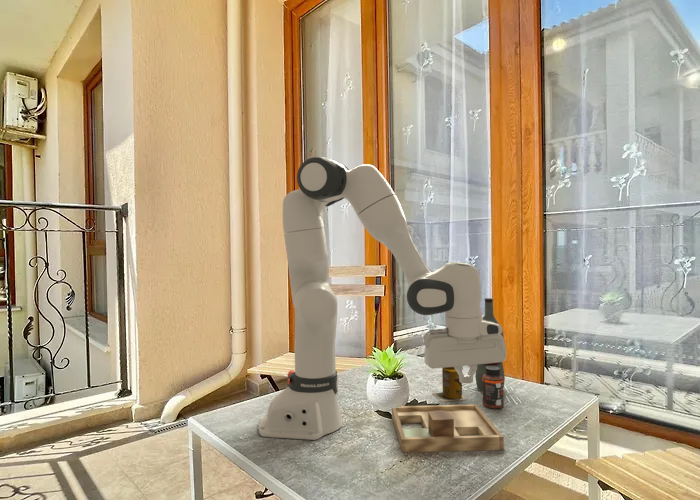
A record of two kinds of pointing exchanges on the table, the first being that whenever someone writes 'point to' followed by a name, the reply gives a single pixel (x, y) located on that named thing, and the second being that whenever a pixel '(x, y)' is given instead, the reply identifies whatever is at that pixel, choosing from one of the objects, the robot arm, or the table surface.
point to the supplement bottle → (493, 388)
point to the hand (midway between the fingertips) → (466, 382)
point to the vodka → (482, 367)
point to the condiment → (450, 386)
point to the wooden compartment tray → (465, 423)
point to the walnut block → (440, 423)
